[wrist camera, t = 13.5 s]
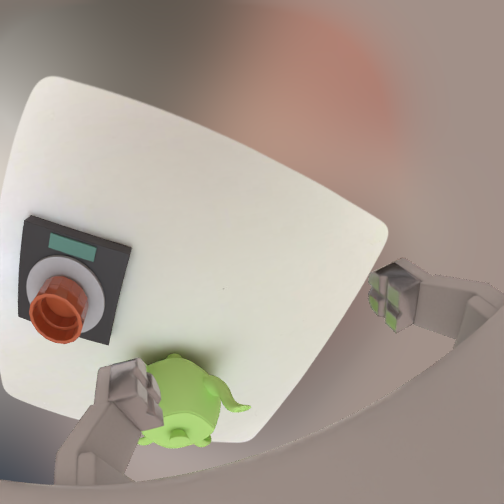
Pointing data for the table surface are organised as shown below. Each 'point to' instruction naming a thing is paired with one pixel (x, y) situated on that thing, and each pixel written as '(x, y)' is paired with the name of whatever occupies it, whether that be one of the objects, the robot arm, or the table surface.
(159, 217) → the table surface
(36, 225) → the scale
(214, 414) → the teapot
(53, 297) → the orange cup
